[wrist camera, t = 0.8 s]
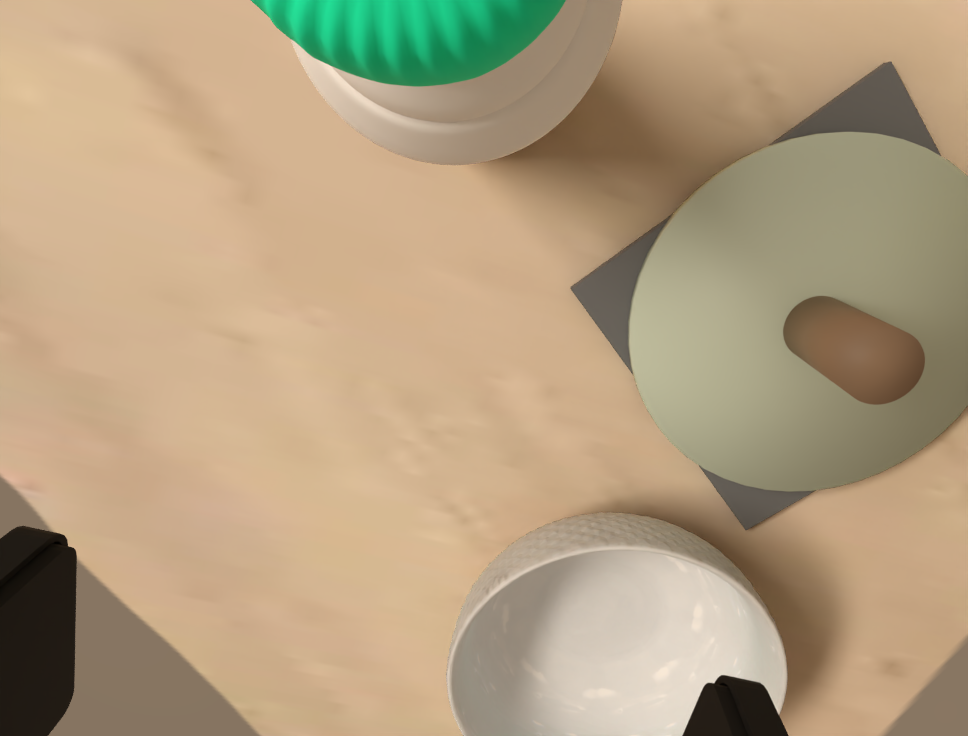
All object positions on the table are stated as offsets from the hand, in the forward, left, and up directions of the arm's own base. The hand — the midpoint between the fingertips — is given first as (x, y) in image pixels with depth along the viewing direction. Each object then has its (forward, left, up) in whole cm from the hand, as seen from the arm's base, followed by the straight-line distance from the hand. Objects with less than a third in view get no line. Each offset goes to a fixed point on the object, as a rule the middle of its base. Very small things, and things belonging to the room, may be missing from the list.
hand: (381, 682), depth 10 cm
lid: (-13, +11, -25) cm, 30 cm away
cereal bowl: (+5, +19, -26) cm, 32 cm away
